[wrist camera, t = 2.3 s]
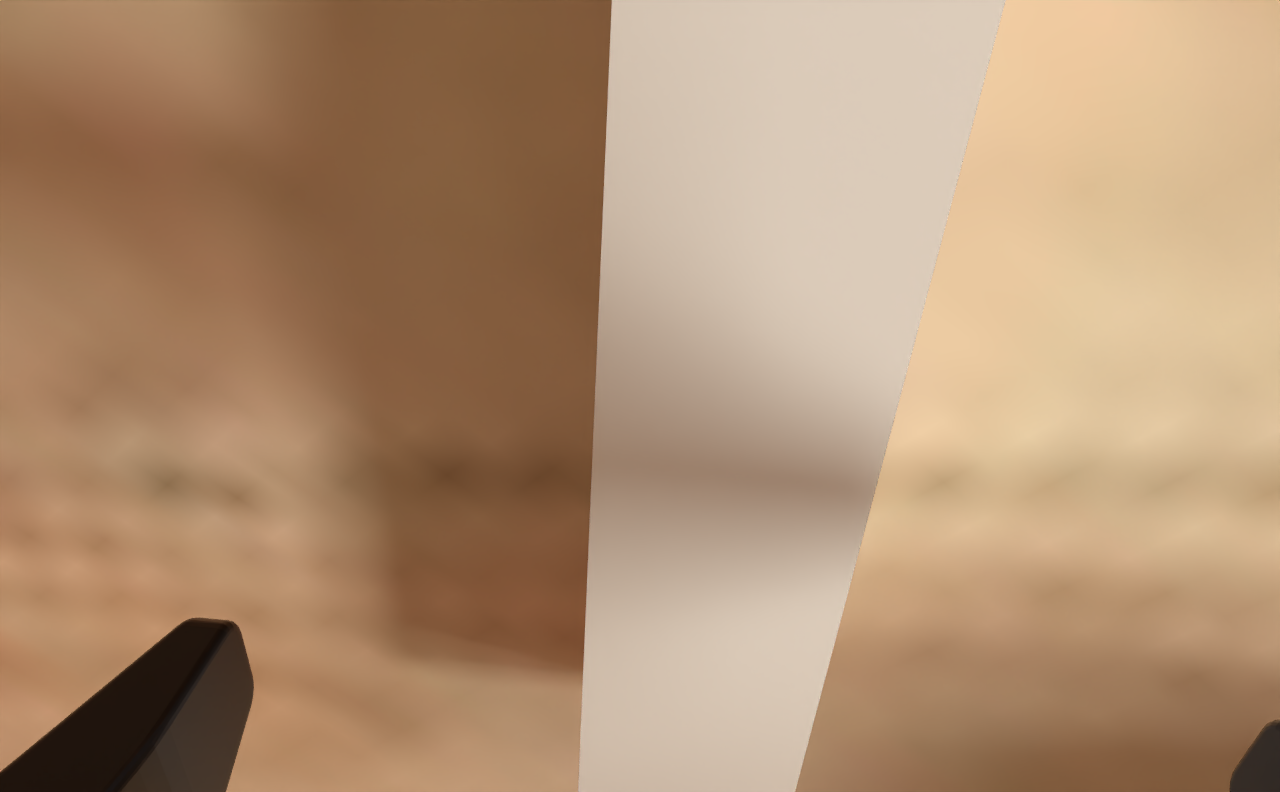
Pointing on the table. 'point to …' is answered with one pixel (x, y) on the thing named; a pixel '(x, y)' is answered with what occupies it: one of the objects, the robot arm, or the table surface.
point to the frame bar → (753, 357)
